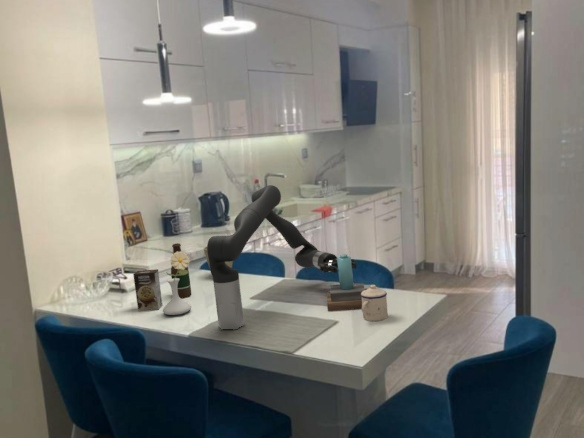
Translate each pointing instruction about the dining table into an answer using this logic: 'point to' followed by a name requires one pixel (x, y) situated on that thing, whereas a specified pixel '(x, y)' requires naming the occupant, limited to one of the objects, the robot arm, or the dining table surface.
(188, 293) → the beer bottle
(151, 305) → the coffee box
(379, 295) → the teacup with lid
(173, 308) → the flower in vase
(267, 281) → the dining table surface
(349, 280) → the teal bottle
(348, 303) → the tower base
